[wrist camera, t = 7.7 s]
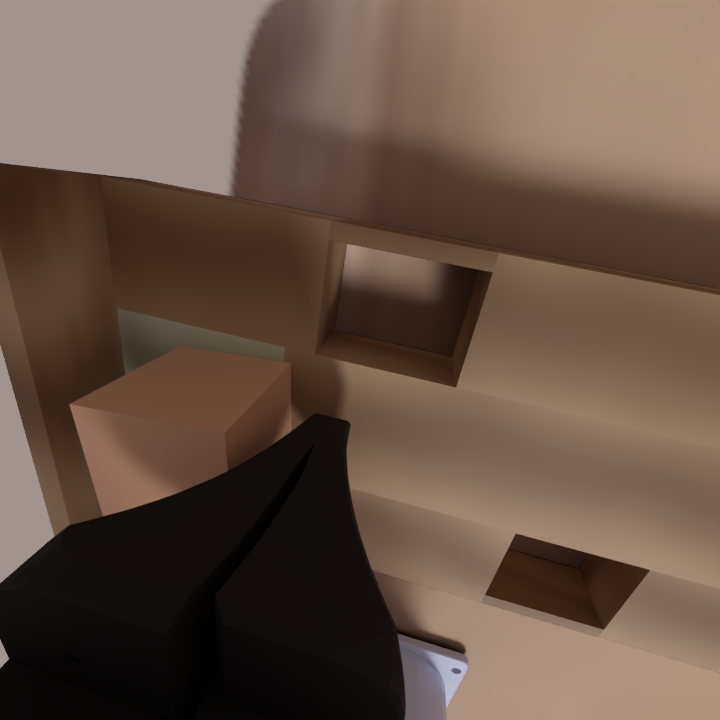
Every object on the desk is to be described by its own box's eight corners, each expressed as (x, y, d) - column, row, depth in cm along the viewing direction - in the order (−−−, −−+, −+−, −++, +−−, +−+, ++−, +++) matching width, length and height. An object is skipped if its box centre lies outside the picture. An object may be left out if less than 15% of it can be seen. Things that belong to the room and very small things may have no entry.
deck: (729, 619, 15) (876, 820, 10) (164, 461, 18) (60, 557, 13) (1009, 344, 10) (1613, 481, 5) (140, 179, 13) (-53, 156, 8)
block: (291, 461, 13) (236, 557, 9) (193, 442, 14) (105, 526, 10) (290, 363, 11) (224, 433, 8) (179, 346, 12) (69, 404, 8)
